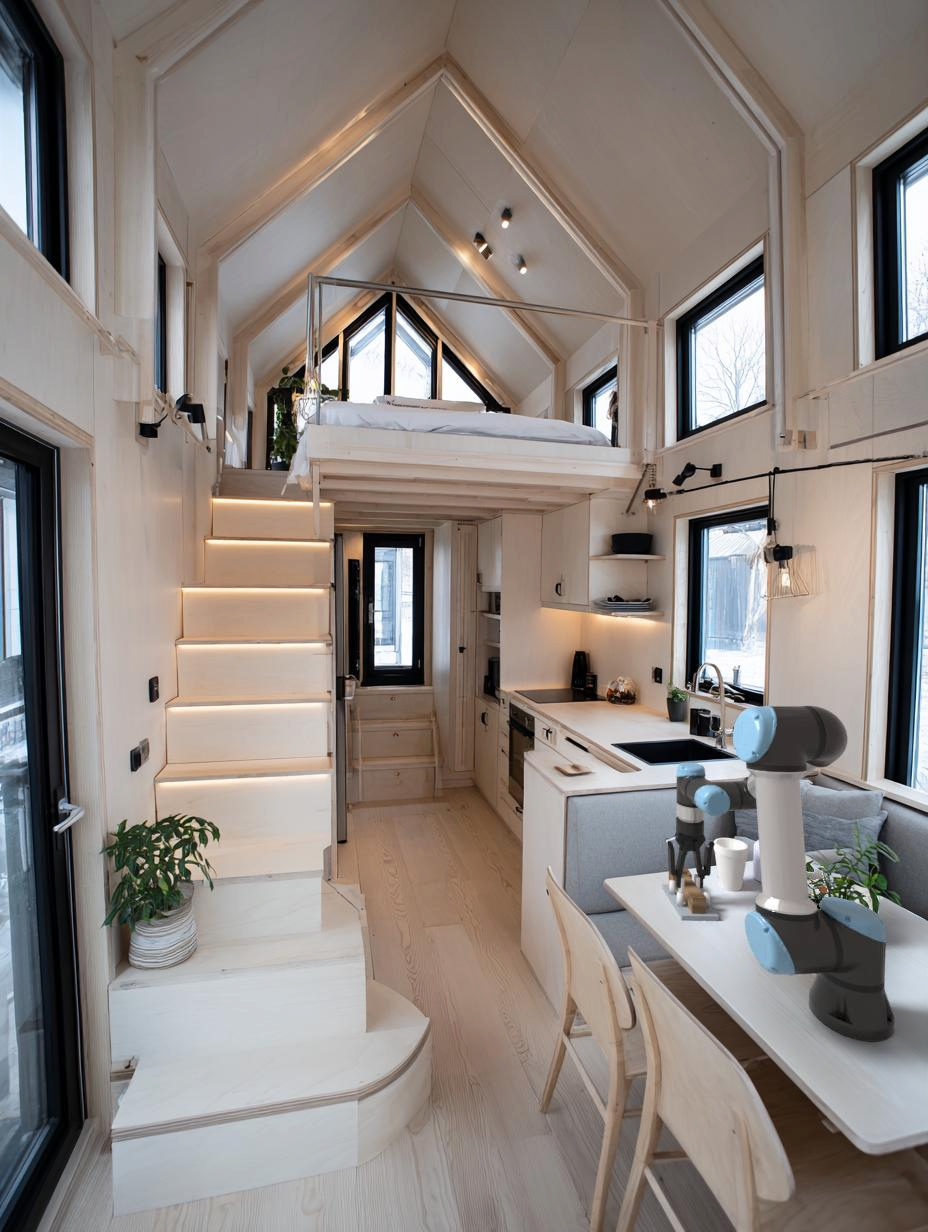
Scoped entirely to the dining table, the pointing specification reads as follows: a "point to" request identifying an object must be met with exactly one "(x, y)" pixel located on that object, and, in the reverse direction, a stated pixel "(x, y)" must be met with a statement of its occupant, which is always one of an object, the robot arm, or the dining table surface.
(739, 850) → the foam cup
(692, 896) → the wooden toy mallet
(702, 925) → the dining table surface
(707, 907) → the rack
